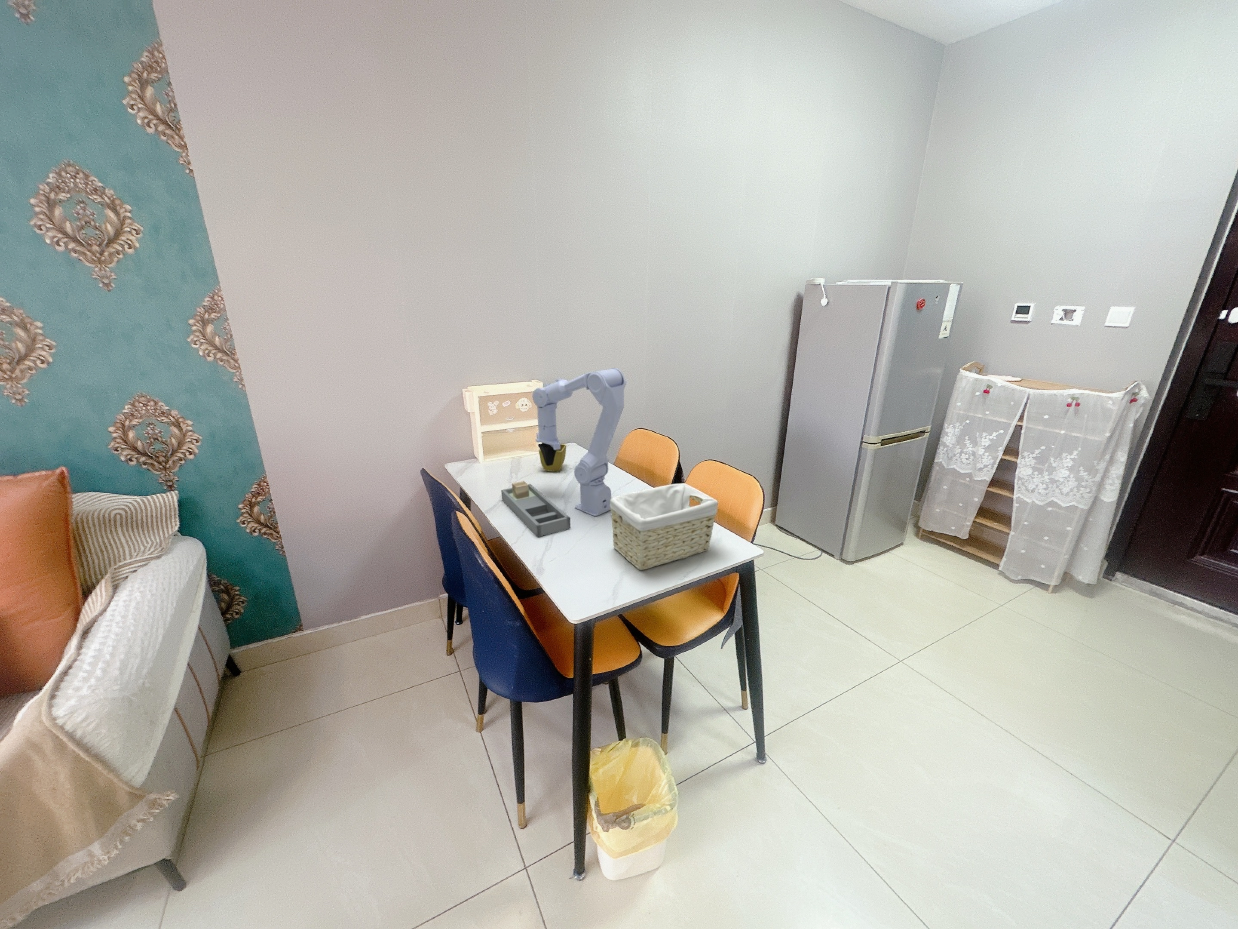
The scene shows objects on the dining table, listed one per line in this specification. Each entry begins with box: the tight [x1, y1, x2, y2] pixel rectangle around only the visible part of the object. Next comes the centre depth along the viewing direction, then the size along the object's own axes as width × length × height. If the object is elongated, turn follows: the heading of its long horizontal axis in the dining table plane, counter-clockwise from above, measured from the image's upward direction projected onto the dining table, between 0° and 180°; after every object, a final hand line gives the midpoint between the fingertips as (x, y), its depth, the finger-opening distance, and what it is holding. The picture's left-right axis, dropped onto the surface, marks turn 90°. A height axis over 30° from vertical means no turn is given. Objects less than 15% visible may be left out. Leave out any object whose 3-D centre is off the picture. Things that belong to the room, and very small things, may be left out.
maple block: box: [511, 480, 529, 499], centre depth 155 cm, size 4×4×4 cm
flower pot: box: [538, 443, 567, 473], centre depth 183 cm, size 9×9×9 cm
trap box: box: [500, 483, 571, 538], centre depth 147 cm, size 30×10×4 cm, turn 32°
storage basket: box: [610, 482, 719, 571], centre depth 125 cm, size 24×16×15 cm
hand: (549, 464), depth 158 cm, fingers closed
